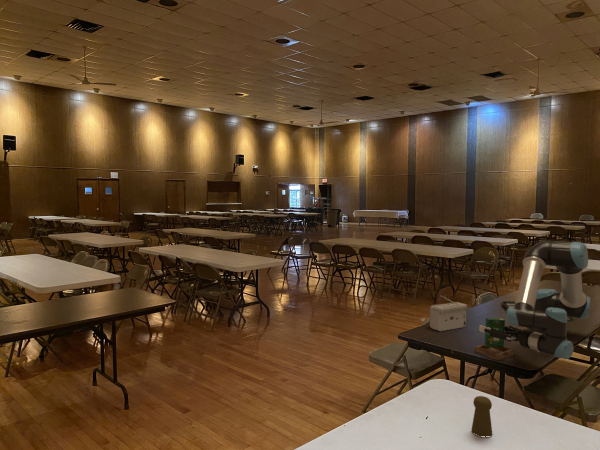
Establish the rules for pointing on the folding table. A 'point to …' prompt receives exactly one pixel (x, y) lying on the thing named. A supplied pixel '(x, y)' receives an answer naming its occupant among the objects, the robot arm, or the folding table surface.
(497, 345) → the coffee box
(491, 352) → the tray
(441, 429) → the folding table surface
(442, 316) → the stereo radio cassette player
